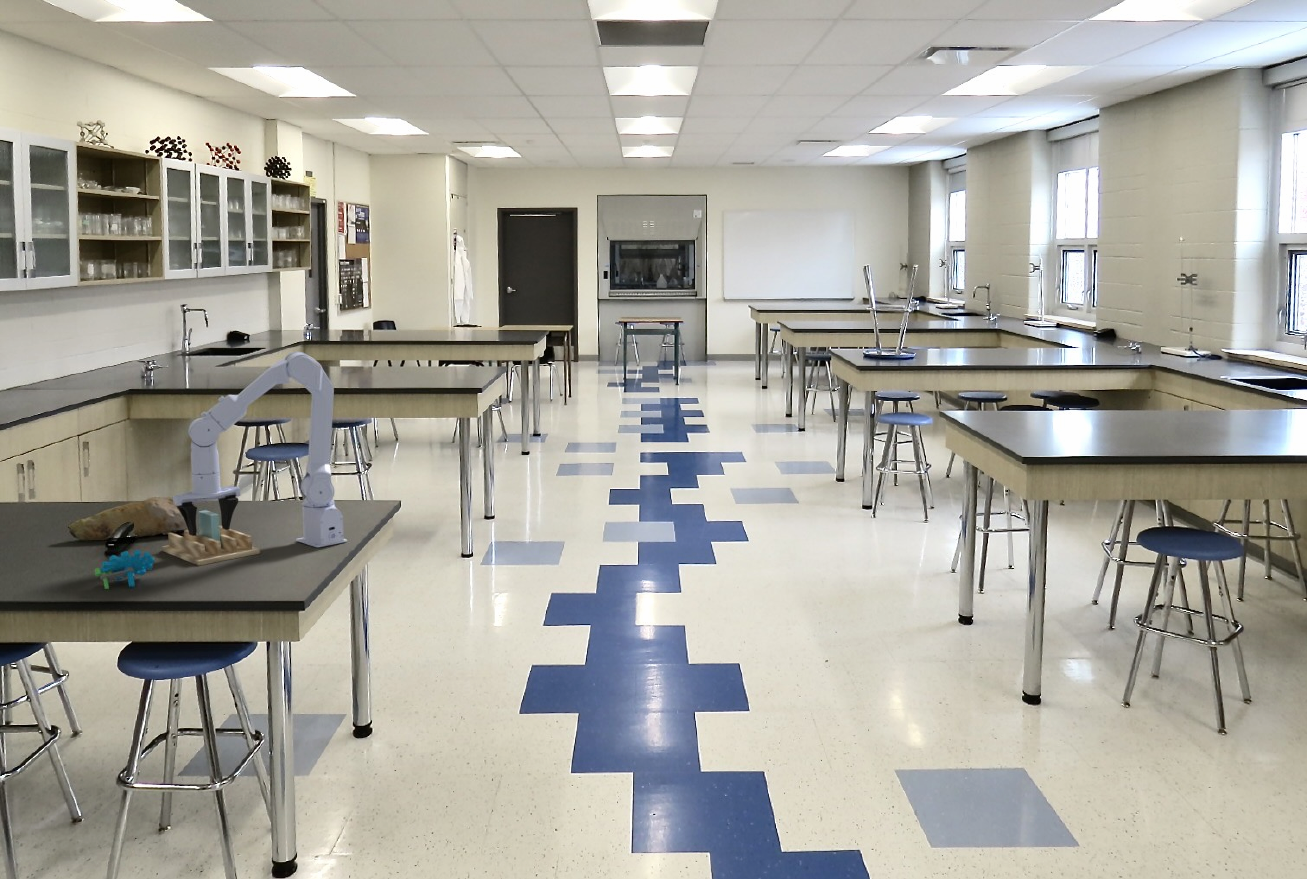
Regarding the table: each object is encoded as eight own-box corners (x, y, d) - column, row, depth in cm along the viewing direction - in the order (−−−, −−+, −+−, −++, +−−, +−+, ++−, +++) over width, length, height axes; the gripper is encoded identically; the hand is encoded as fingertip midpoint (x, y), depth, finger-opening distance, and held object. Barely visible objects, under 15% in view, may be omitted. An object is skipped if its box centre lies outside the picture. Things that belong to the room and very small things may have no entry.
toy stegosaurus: (156, 567, 233) (150, 542, 225) (161, 591, 230) (155, 567, 222) (98, 580, 228) (90, 556, 221) (103, 605, 226) (94, 581, 218)
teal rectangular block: (220, 549, 250) (218, 514, 249) (212, 550, 249) (210, 515, 247) (208, 544, 254) (206, 510, 253) (200, 546, 253) (198, 511, 251)
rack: (259, 553, 250) (258, 535, 250) (198, 565, 240) (197, 547, 240) (221, 539, 263) (220, 522, 262) (162, 550, 252) (160, 533, 252)
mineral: (64, 511, 254) (65, 509, 263) (70, 551, 254) (71, 548, 263) (189, 492, 266) (186, 491, 275) (195, 530, 266) (192, 528, 275)
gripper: (228, 465, 256) (231, 523, 259) (165, 474, 246) (169, 534, 248) (243, 469, 252) (246, 528, 254) (179, 478, 241) (183, 540, 243)
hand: (209, 532), depth 251 cm, fingers open, 7 cm apart
